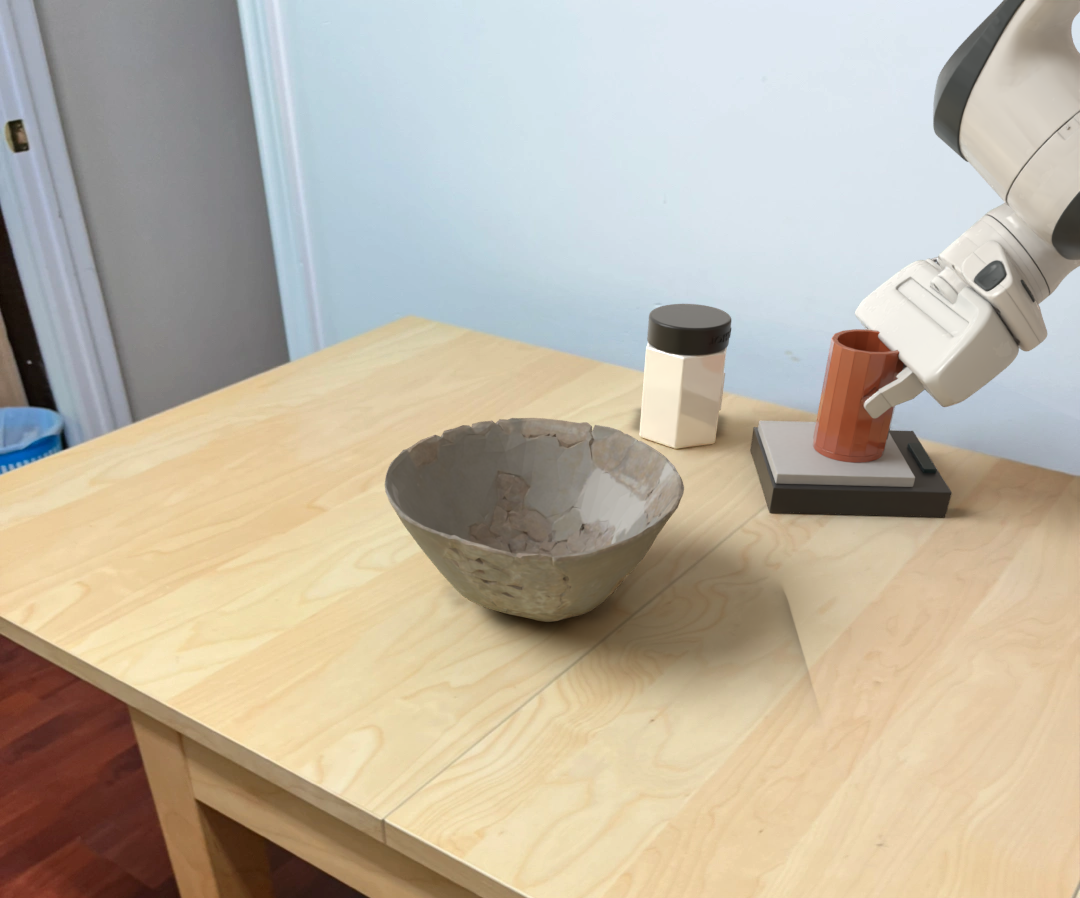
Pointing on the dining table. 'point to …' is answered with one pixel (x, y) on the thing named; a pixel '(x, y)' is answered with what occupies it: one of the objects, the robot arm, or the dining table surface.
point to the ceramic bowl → (534, 511)
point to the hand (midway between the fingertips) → (851, 394)
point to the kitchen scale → (845, 476)
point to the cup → (854, 397)
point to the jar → (684, 374)
